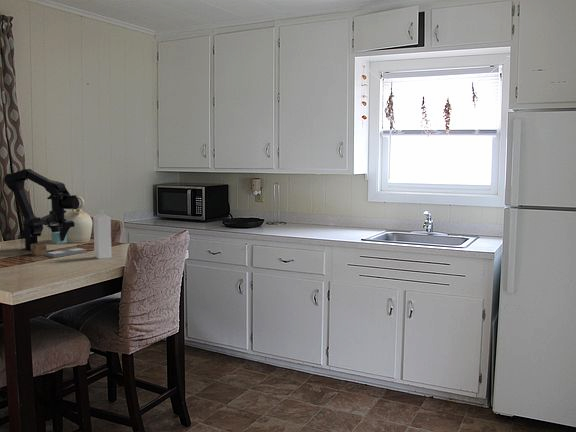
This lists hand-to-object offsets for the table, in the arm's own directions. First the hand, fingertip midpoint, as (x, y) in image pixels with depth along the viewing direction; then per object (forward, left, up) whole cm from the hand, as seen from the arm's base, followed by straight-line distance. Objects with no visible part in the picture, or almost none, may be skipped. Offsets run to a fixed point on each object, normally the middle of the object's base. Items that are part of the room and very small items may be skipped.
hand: (59, 240), depth 280 cm
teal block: (0, 0, -1) cm, 1 cm away
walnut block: (0, -11, -6) cm, 12 cm away
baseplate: (+10, -2, -5) cm, 11 cm away
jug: (-20, +23, -6) cm, 31 cm away
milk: (+30, +4, -6) cm, 31 cm away
